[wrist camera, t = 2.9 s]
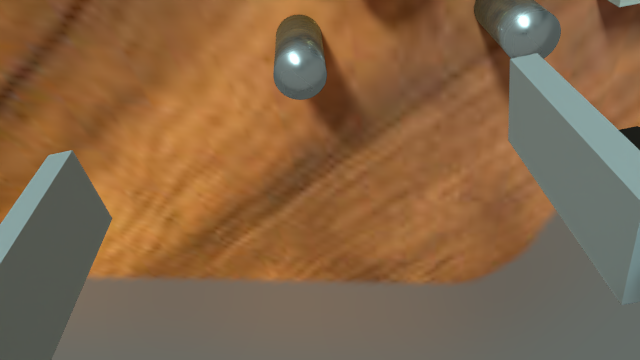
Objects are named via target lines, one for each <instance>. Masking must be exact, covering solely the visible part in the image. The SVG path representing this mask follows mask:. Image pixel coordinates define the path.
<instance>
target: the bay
mask: <svg viewBox="0 0 640 360" xmlns="http://www.w3.org/2000/svg"><path fill="white" fill-rule="evenodd" d="M608 1H610V2H611V3H613V4H615V5H616V6H618V7H623V6H628V5H634V4H639V3H640V0H608Z"/></svg>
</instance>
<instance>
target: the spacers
mask: <svg viewBox="0 0 640 360" xmlns="http://www.w3.org/2000/svg"><path fill="white" fill-rule="evenodd" d="M474 14H475V17H476V19H477V21H478V22H479V23H480V24H481V25H482V26H483V27H484V29H485V30H486V31H487V32H488V33H489V34H490V35H491V36H492V38H493V39H494V40H495V41H496V42H497V43H498V44H499V45H500V47H501V48H502V49H503V50H504V51H505V52H506V53H507V54H508V56H509V57H510V58H511V59H512V58H517V57H521V56H526V55H531V54H536V53H538V54H539V55H540V56H541V57H542V58H543V59H544V58H545V57H547V56H548V55H549V54H550V53H551V52H552V51H553V50H554V48H555V47H556V45H557V43H558V41H559V38H560V34H561V28H560V23H559V21H558V20H557V18H556V17H555V16H554V15H553V14H551V13H550V12H549V11H547V10H546V9H545V8H544V7H542V6H541V5H540V4H538V3H537V2H536V1H535V0H476V1H475V5H474ZM326 78H327V71H326V64H325V57H324V49H323V42H322V35H321V30H320V28H319V26H318V24H317V23H316V22H315V21H314V20H313V19H312V18H310V17H308V16H305V15H292V16H290V17H288V18H286V19H285V20H283V21H282V22H281V24H280V25H279V27H278V29H277V32H276V45H275V60H274V81H275V84H276V86H277V88H278V89H279V90H280V91H281V92H282V93H283V94H284V95H286V96H287V97H289V98H292V99H298V100H303V99H308V98H311V97H313V96H315V95H316V94H318V93H319V92H320V91H321V90H322V88H323V87H324V85H325V83H326Z"/></svg>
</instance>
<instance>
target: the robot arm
mask: <svg viewBox="0 0 640 360" xmlns="http://www.w3.org/2000/svg"><path fill="white" fill-rule="evenodd" d="M508 140H509V142H510V143H511V145H512V146H513V148H514V149H515V151H516V152H517V154H518V155H519V156H520V158H521V159H522V161H523V162H524V164H525V165H526V167H527V168H528V170H529V171H530V173H531V174H532V175H533V177H534V178H535V180H536V181H537V183H538V184H539V186H540V187H541V189H542V190H543V192H544V193H545V195H546V196H547V197H548V199H549V200H550V202H551V203H552V205H553V206H554V208H555V209H556V211H557V212H558V214H559V215H560V216H561V218H562V219H563V221H564V222H565V224H566V225H567V227H568V228H569V230H570V231H571V232H572V234H573V235H574V237H575V238H576V240H577V241H578V243H579V244H580V246H581V247H582V249H583V250H584V251H585V253H586V254H587V256H588V257H589V259H590V260H591V262H592V263H593V264H594V266H595V268H596V269H597V271H598V272H599V273H600V275H601V276H602V278H603V279H604V281H605V282H606V284H607V285H608V287H609V288H610V290H611V291H612V292H613V294H614V295H615V297H616V298H617V300H618V301H619V303H620V304H621V305H625V304H630V303H637V302H640V127H638V126H636V127H631V128H626V129H621V130H618V129H617V128H616V127H615V126H614V125H613V124H611V123H610V122H609V121H608V120H607V119H606V118H605V117H604V116H603V115H602V114H601V113H600V112H599V111H598V110H597V109H596V108H595V107H594V106H592V105H591V104H590V103H589V102H588V101H587V100H586V99H585V98H584V97H583V96H582V95H581V94H580V93H579V92H578V91H577V90H576V89H575V88H573V87H572V86H571V85H570V84H569V83H568V82H567V81H566V80H565V79H564V78H563V77H562V76H561V75H560V74H559V73H558V72H557V71H556V70H554V69H553V68H552V67H551V66H550V65H549V64H548V63H547V62H546V61H545V60H544V59H543V58H542V57H541V56H540V55H539V54H538V53H536V54H531V55H526V56H521V57H517V58H512V59H510V83H509V135H508ZM111 220H112V217H111V216H110V214H109V212H108V210H107V209H106V207H105V205H104V204H103V202H102V200H101V198H100V197H99V195H98V193H97V192H96V190H95V188H94V186H93V185H92V183H91V181H90V179H89V178H88V176H87V174H86V173H85V171H84V169H83V167H82V166H81V164H80V162H79V161H78V159H77V157H76V155H75V154H74V152H73V150H71V151H66V152H61V153H57V154H52V155H48V157H47V158H46V160H45V161H44V162H43V164H42V165H41V167H40V168H39V170H38V171H37V173H36V174H35V175H34V177H33V178H32V180H31V181H30V183H29V184H28V185H27V187H26V188H25V190H24V191H23V193H22V194H21V195H20V197H19V198H18V200H17V201H16V203H15V204H14V206H13V207H12V208H11V210H10V211H9V213H8V214H7V216H6V217H5V218H4V220H3V221H2V223H1V224H0V360H52V357H53V355H54V353H55V350H56V348H57V346H58V343H59V341H60V339H61V336H62V334H63V332H64V329H65V327H66V325H67V322H68V320H69V318H70V315H71V313H72V311H73V308H74V306H75V304H76V301H77V299H78V297H79V294H80V292H81V290H82V287H83V285H84V283H85V281H86V278H87V276H88V274H89V271H90V269H91V267H92V264H93V262H94V260H95V257H96V255H97V253H98V250H99V248H100V246H101V243H102V241H103V239H104V236H105V234H106V232H107V229H108V227H109V225H110V222H111Z"/></svg>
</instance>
